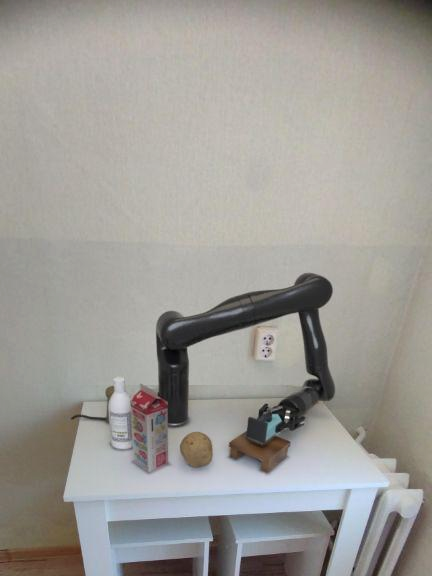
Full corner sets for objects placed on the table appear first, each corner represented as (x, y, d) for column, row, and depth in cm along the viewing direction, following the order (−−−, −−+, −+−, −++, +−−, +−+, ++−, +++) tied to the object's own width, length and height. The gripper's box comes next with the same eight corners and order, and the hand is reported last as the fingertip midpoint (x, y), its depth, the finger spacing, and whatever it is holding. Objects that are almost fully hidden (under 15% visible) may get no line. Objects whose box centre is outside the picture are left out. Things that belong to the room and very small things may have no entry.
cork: (121, 425, 143) (119, 392, 137) (103, 423, 144) (100, 390, 138) (128, 417, 148) (126, 385, 142) (110, 414, 149) (108, 382, 142)
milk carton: (152, 453, 130) (150, 380, 118) (168, 463, 127) (167, 388, 114) (133, 462, 127) (129, 386, 114) (148, 472, 123) (146, 395, 110)
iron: (267, 424, 136) (270, 402, 132) (284, 430, 134) (288, 408, 130) (245, 439, 128) (248, 416, 124) (263, 446, 125) (266, 423, 121)
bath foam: (137, 448, 133) (134, 382, 121) (113, 451, 130) (108, 385, 119) (132, 436, 138) (129, 372, 126) (109, 439, 136) (103, 375, 124)
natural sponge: (181, 455, 131) (181, 423, 125) (212, 457, 131) (214, 425, 125) (178, 472, 123) (178, 440, 118) (211, 475, 123) (213, 442, 118)
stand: (250, 441, 139) (252, 426, 136) (288, 456, 133) (290, 441, 130) (227, 457, 131) (229, 442, 128) (267, 474, 125) (269, 458, 122)
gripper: (276, 388, 142) (246, 406, 130) (319, 402, 136) (291, 422, 124) (273, 410, 146) (244, 429, 135) (314, 424, 140) (287, 446, 128)
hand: (267, 426), depth 129 cm, fingers closed on iron, 5 cm apart
